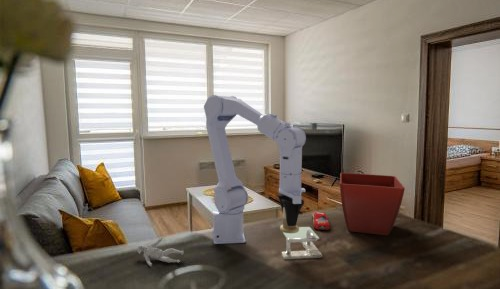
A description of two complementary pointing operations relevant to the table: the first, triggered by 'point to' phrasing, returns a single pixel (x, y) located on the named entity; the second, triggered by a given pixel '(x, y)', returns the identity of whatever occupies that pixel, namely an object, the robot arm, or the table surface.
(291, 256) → the wire frame
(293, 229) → the ringed peg
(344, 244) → the table surface
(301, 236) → the sage mat
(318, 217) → the race car
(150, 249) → the soldier figure
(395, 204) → the plant pot
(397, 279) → the table surface
